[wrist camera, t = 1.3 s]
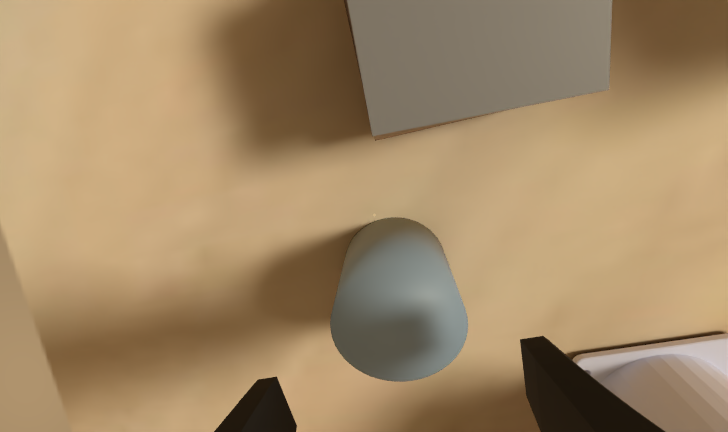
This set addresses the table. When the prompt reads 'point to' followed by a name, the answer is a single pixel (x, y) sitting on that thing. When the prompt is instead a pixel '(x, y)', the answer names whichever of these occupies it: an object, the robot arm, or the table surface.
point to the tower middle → (476, 56)
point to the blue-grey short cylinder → (397, 303)
